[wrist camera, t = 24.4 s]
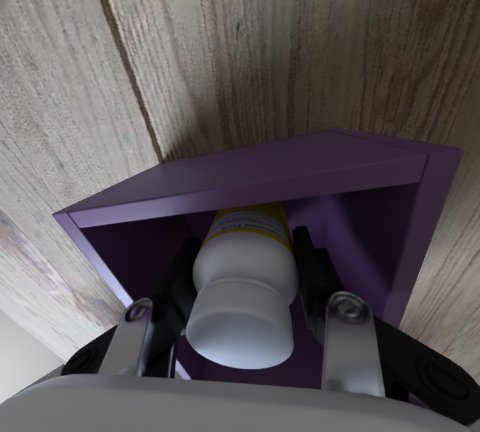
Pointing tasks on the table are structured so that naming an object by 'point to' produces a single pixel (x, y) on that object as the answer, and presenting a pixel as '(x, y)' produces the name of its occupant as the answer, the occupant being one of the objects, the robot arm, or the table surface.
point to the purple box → (297, 213)
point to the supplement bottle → (245, 288)
